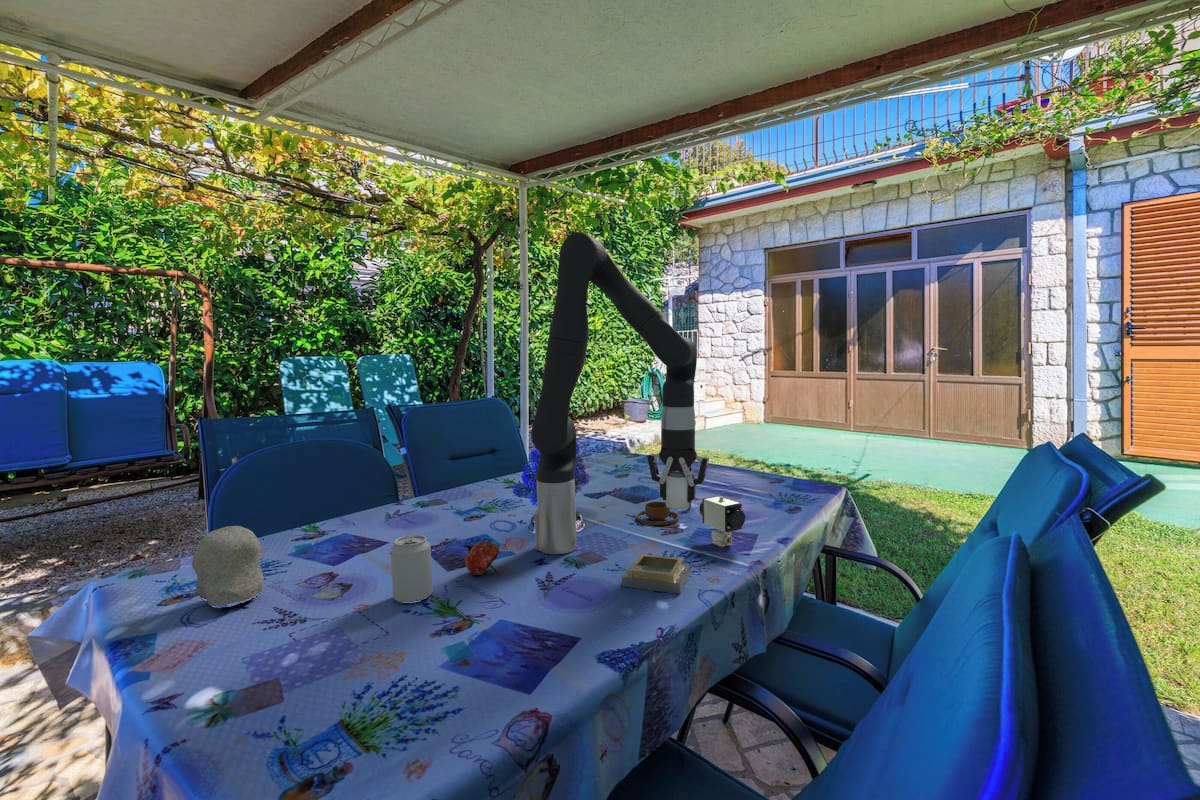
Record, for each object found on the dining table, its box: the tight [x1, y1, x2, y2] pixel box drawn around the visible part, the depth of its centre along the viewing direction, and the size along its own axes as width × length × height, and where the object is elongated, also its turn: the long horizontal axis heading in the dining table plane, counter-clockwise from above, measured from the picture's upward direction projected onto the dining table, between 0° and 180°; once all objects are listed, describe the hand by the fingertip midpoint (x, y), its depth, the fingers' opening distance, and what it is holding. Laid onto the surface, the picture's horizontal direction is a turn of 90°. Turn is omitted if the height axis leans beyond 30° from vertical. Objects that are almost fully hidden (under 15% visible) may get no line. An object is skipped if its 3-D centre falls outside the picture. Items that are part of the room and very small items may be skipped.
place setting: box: [636, 501, 692, 529], centre depth 161 cm, size 18×20×6 cm
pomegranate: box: [463, 540, 501, 576], centre depth 124 cm, size 7×7×10 cm
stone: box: [191, 525, 264, 606], centre depth 111 cm, size 11×11×15 cm
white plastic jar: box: [665, 471, 689, 510], centre depth 128 cm, size 5×5×8 cm
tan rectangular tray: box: [621, 553, 691, 595], centre depth 117 cm, size 12×10×4 cm
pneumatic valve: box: [698, 495, 746, 549], centre depth 138 cm, size 6×12×12 cm, turn 29°
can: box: [389, 534, 434, 602], centre depth 112 cm, size 8×8×12 cm
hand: (677, 500), depth 128 cm, fingers closed on white plastic jar, 5 cm apart
